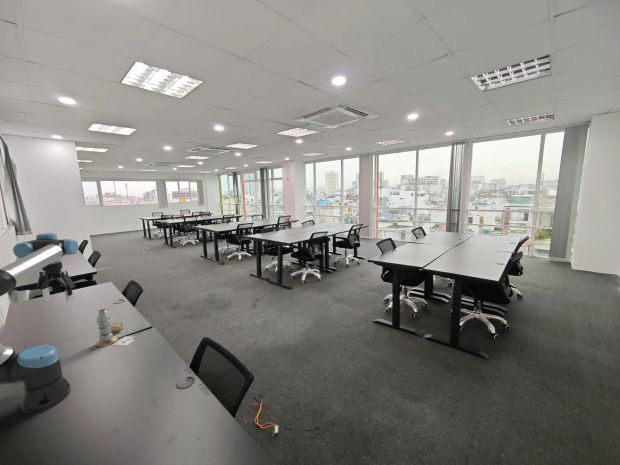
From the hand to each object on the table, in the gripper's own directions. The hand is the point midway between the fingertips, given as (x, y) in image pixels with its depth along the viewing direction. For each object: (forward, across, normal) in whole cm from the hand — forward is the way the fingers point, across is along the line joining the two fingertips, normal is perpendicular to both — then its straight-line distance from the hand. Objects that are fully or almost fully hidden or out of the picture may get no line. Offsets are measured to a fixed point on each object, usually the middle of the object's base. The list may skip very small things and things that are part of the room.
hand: (58, 300), depth 136 cm
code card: (+33, -21, -16) cm, 42 cm away
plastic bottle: (+32, -10, -14) cm, 37 cm away
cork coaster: (+33, -10, -14) cm, 37 cm away
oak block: (+33, -6, -26) cm, 42 cm away
